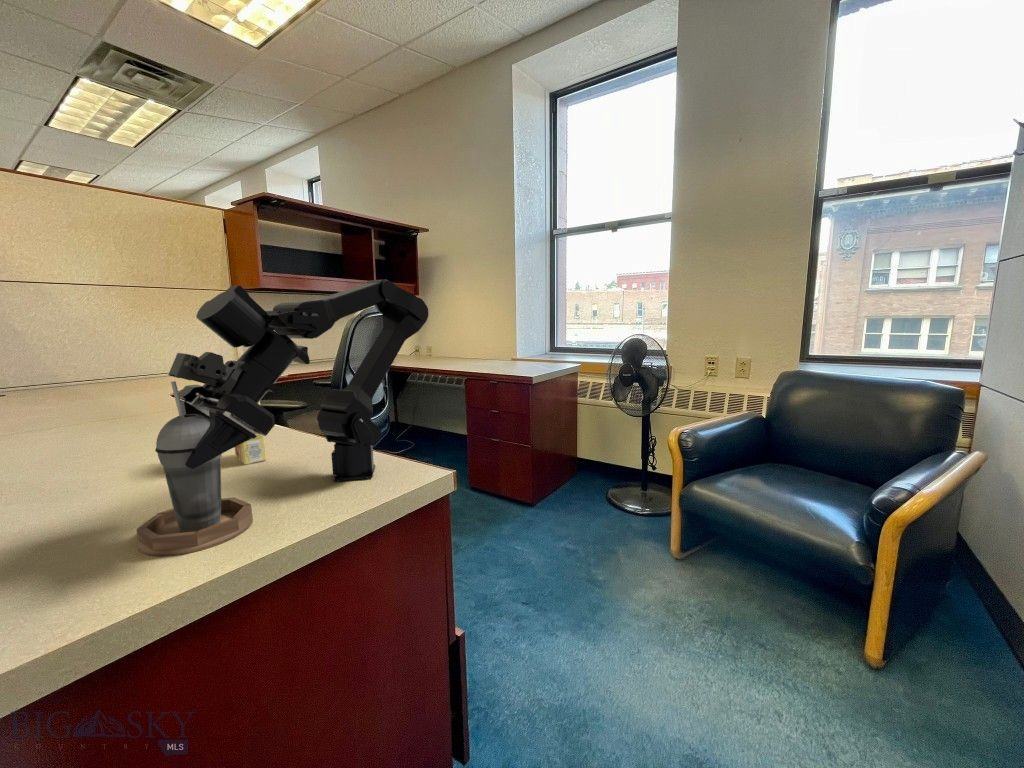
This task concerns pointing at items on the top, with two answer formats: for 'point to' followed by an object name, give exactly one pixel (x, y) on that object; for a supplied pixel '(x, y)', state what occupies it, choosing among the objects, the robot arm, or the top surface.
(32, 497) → the top surface
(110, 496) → the top surface
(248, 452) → the candy box
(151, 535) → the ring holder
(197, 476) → the beverage cup
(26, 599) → the top surface
